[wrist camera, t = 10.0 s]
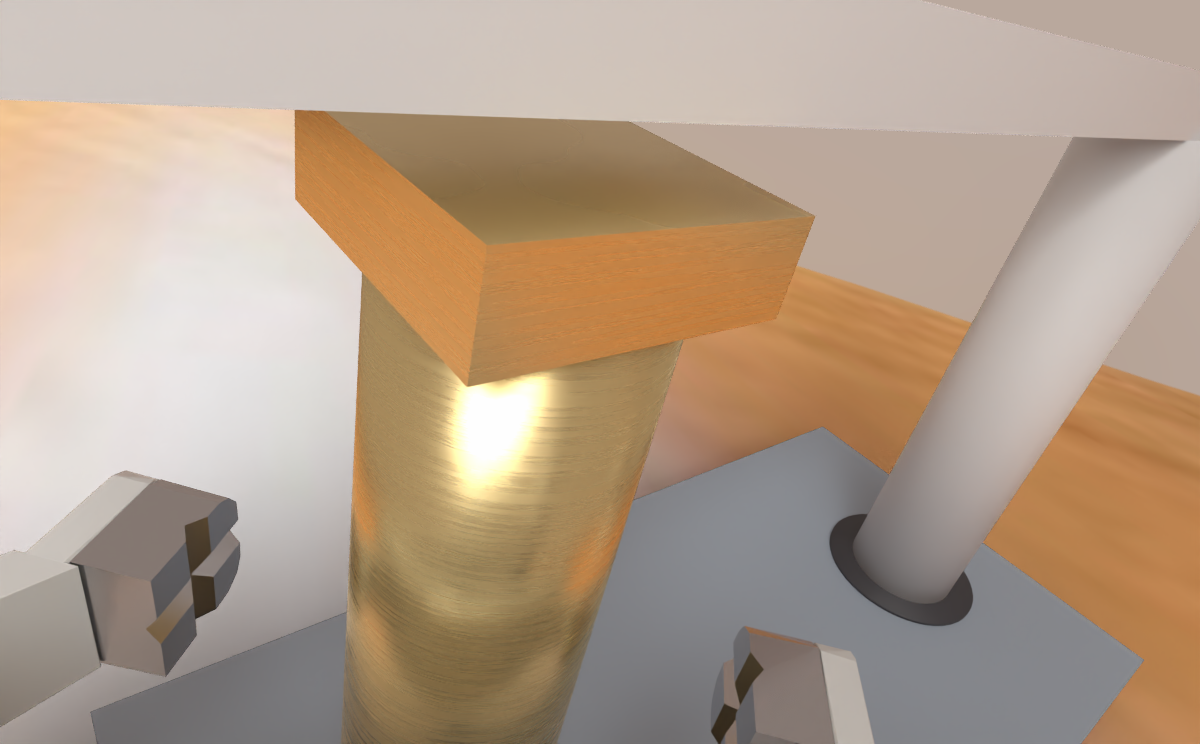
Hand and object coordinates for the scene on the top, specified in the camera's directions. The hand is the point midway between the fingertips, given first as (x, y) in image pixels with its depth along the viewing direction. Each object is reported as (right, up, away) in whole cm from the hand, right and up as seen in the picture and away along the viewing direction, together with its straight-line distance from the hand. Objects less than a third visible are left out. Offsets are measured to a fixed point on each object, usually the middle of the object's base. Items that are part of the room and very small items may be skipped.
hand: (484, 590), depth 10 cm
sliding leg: (-1, -5, +2) cm, 6 cm away
